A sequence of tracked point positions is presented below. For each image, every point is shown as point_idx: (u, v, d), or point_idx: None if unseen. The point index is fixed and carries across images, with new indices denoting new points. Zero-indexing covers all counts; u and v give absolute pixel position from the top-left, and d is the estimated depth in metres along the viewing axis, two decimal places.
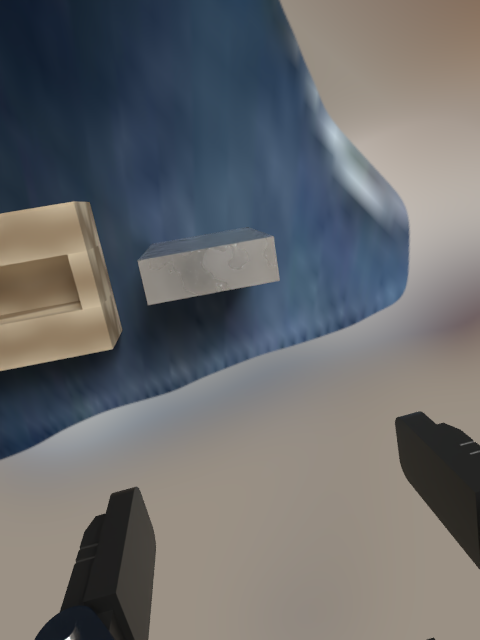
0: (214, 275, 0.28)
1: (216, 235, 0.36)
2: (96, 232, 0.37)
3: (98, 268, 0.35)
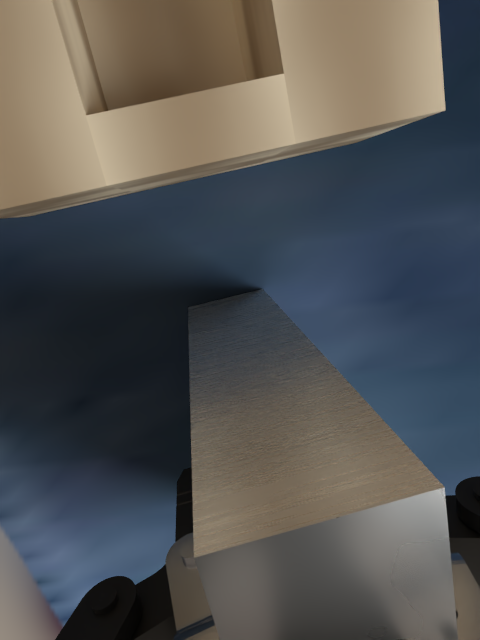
0: None
1: None
2: (289, 157, 0.15)
3: (216, 168, 0.12)
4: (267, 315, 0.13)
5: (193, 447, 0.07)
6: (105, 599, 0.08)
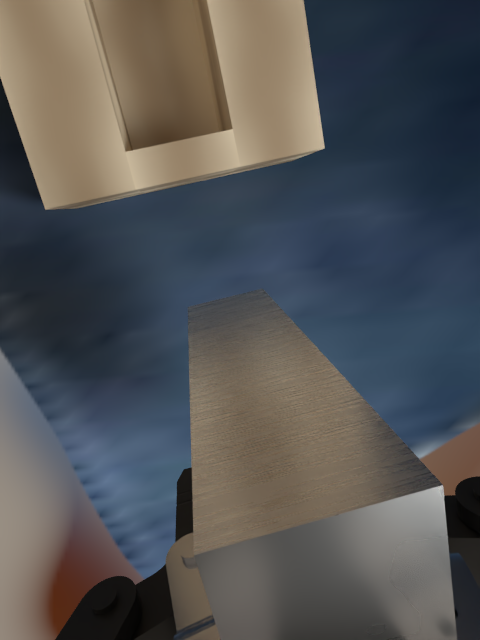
0: None
1: None
2: (246, 170, 0.23)
3: (198, 179, 0.20)
4: (267, 315, 0.13)
5: (193, 446, 0.07)
6: (105, 599, 0.08)
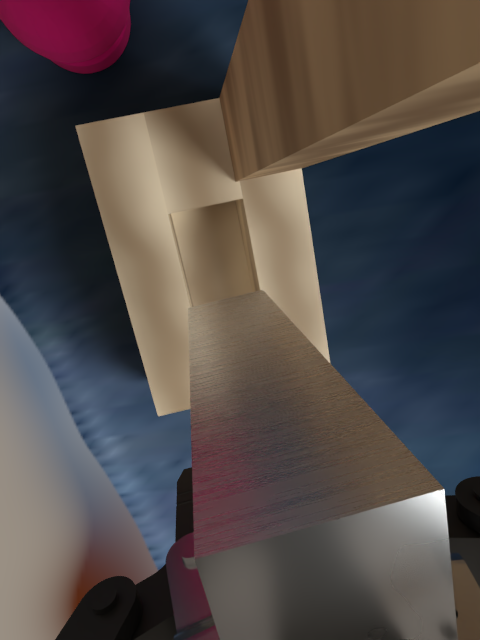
0: None
1: None
2: None
3: None
4: (267, 316, 0.13)
5: (193, 448, 0.07)
6: (105, 599, 0.08)
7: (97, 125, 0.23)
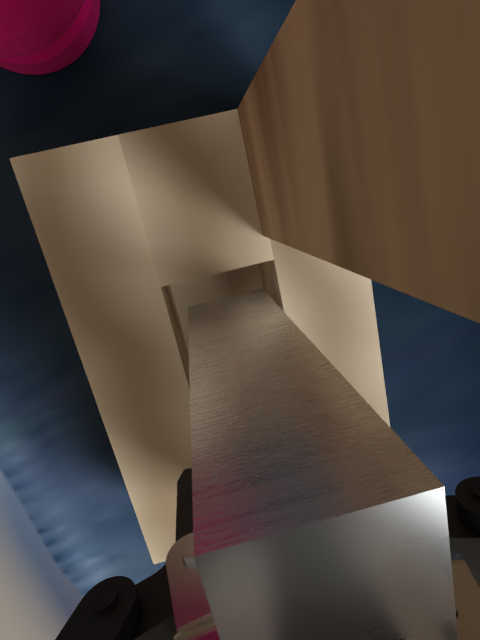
0: None
1: None
2: None
3: None
4: (267, 315, 0.13)
5: (193, 446, 0.07)
6: (104, 599, 0.08)
7: (45, 157, 0.14)
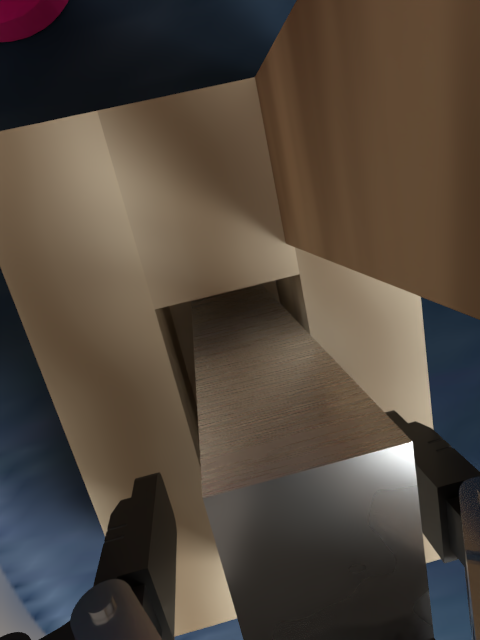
0: None
1: None
2: None
3: None
4: (265, 307, 0.14)
5: (199, 417, 0.08)
6: None
7: None
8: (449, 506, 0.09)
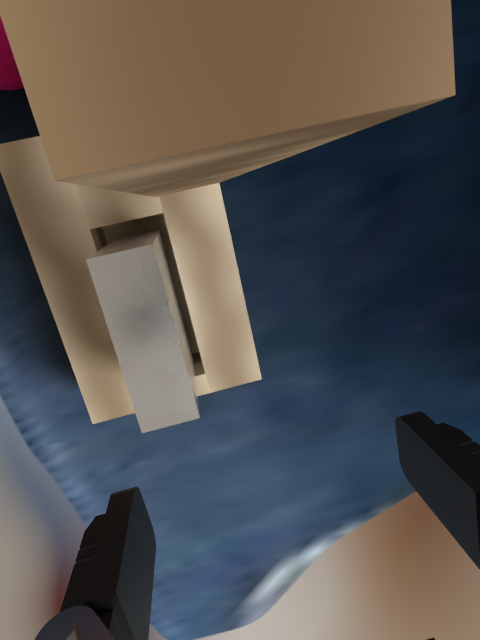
0: (141, 350, 0.20)
1: (181, 314, 0.29)
2: None
3: None
4: (150, 232, 0.27)
5: (95, 253, 0.21)
6: None
7: (13, 145, 0.23)
8: None
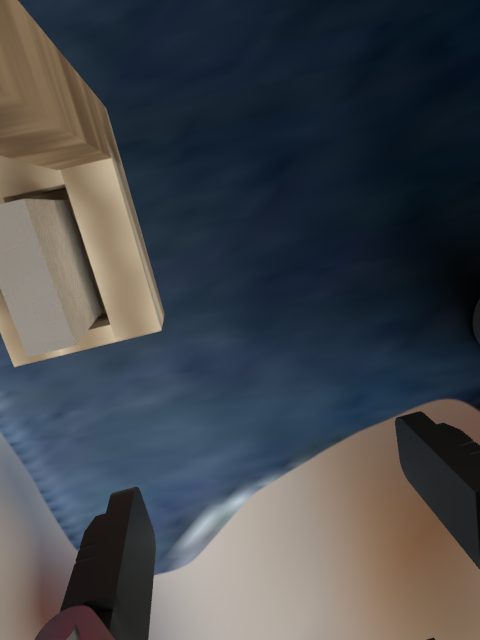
0: (20, 286, 0.25)
1: (90, 273, 0.34)
2: None
3: None
4: None
5: None
6: None
7: None
8: None
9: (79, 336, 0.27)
